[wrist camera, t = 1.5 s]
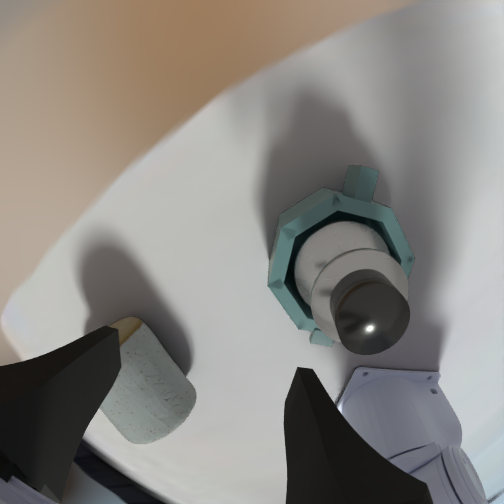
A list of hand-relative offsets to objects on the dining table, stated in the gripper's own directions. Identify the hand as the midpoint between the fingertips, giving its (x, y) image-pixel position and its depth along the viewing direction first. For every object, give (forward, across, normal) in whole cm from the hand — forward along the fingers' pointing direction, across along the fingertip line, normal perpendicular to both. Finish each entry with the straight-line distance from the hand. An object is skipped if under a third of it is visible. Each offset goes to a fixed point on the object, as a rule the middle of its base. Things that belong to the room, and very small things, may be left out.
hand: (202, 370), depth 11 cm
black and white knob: (+7, -6, -3) cm, 10 cm away
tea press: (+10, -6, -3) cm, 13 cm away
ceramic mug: (+11, +7, +10) cm, 17 cm away
